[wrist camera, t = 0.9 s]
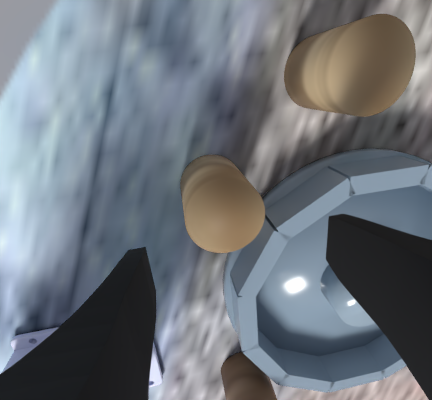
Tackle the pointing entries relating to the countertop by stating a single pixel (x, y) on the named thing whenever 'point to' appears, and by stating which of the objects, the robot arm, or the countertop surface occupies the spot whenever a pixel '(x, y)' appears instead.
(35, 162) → the countertop surface
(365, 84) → the bead
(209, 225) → the bead
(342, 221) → the robot arm
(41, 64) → the countertop surface
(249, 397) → the bead
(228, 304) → the ring tray
